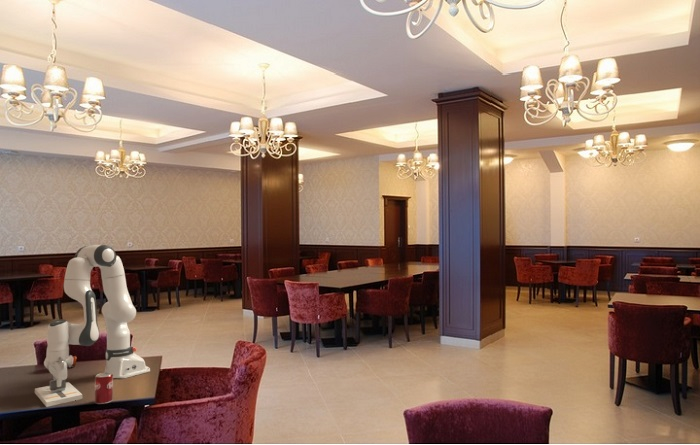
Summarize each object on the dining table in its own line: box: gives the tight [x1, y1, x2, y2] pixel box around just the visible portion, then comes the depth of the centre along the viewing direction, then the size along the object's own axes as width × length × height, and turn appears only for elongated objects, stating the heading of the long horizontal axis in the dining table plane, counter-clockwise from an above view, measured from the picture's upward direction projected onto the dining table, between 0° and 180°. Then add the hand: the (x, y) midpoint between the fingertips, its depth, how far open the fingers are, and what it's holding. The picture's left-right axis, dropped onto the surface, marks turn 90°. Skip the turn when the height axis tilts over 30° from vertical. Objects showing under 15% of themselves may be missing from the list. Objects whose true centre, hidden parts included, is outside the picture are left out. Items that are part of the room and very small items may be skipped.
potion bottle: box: [43, 354, 77, 371], centre depth 261 cm, size 9×10×15 cm
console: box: [34, 381, 83, 408], centre depth 219 cm, size 14×25×2 cm, turn 43°
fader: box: [49, 379, 67, 393], centre depth 219 cm, size 6×4×5 cm, turn 134°
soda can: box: [94, 372, 114, 405], centre depth 211 cm, size 7×7×12 cm
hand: (57, 385), depth 219 cm, fingers closed on fader, 2 cm apart
